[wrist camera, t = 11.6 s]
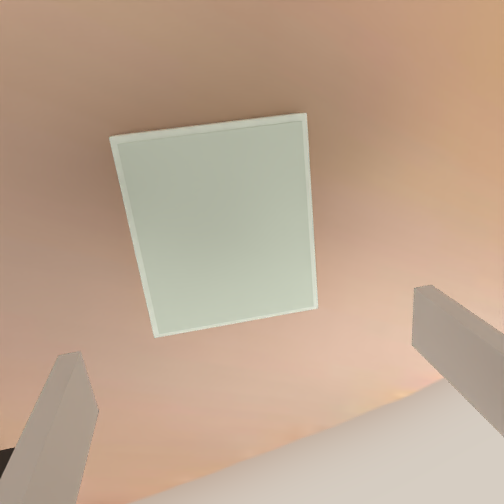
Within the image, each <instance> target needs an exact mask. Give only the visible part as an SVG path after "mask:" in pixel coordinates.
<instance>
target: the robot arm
mask: <svg viewBox="0 0 504 504" xmlns="http://www.w3.org/2000/svg"><path fill="white" fill-rule="evenodd" d="M412 346H413V347H414V348H415V349H416V350H417V351H418V352H419V353H420V354H421V355H422V356H423V357H424V358H425V359H426V360H427V361H428V362H429V363H430V364H431V365H432V366H433V367H434V368H435V369H436V370H437V371H438V372H439V373H440V374H441V375H442V376H443V377H444V378H445V379H446V380H447V381H448V382H449V383H450V384H451V385H452V386H453V387H454V388H455V389H456V390H457V391H458V392H459V393H460V394H461V395H462V396H463V397H464V398H465V399H466V400H467V401H468V402H469V403H470V404H472V406H473V407H475V409H476V410H477V411H478V412H479V413H480V414H481V415H482V416H483V417H484V418H485V419H486V420H487V421H488V422H489V423H490V424H491V425H492V426H493V427H494V428H495V429H496V430H497V431H498V432H499V433H500V434H501V435H502V436H503V437H504V334H503V333H501V332H500V331H498V330H497V329H495V328H494V327H493V326H491V325H490V324H488V323H487V322H485V321H484V320H482V319H481V318H479V317H478V316H476V315H475V314H474V313H472V312H471V311H469V310H468V309H466V308H465V307H463V306H462V305H460V304H459V303H457V302H456V301H455V300H453V299H452V298H450V297H449V296H447V295H446V294H444V293H443V292H441V291H440V290H438V289H437V288H435V287H434V286H433V285H427V286H422V287H416V288H414V302H413V327H412ZM98 413H99V409H98V406H97V403H96V400H95V396H94V393H93V390H92V387H91V383H90V380H89V377H88V374H87V370H86V367H85V364H84V361H83V357H82V354H81V351H78V352H73V353H68V354H63V355H59V356H58V358H57V360H56V362H55V364H54V366H53V368H52V370H51V373H50V375H49V377H48V379H47V381H46V383H45V385H44V387H43V390H42V392H41V394H40V396H39V398H38V400H37V402H36V404H35V406H34V409H33V411H32V413H31V415H30V417H29V419H28V421H27V423H26V426H25V428H24V430H23V432H22V434H21V436H20V438H19V440H18V443H17V445H16V447H14V448H10V449H5V450H1V451H0V504H76V500H77V497H78V493H79V489H80V485H81V481H82V477H83V473H84V469H85V465H86V461H87V457H88V453H89V449H90V445H91V441H92V437H93V433H94V429H95V425H96V421H97V417H98Z"/></svg>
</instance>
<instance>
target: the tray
mask: <svg viewBox="0 0 504 504" xmlns="http://www.w3.org/2000/svg"><path fill="white" fill-rule="evenodd" d="M109 140H110V144H111V149H112V153H113V158H114V162H115V166H116V171H117V175H118V180H119V184H120V188H121V193H122V197H123V202H124V206H125V211H126V215H127V219H128V224H129V228H130V233H131V237H132V242H133V246H134V250H135V255H136V259H137V264H138V268H139V273H140V277H141V281H142V286H143V290H144V295H145V299H146V304H147V308H148V312H149V317H150V321H151V326H152V330H153V335H154V338H158V337H163V336H169V335H174V334H180V333H185V332H191V331H196V330H202V329H207V328H213V327H218V326H224V325H229V324H235V323H240V322H246V321H251V320H257V319H262V318H268V317H273V316H279V315H284V314H290V313H295V312H301V311H306V310H312V309H317V308H318V295H317V279H316V262H315V245H314V228H313V211H312V194H311V177H310V160H309V143H308V126H307V113H292V114H284V115H275V116H267V117H259V118H251V119H243V120H234V121H226V122H218V123H210V124H201V125H193V126H185V127H177V128H169V129H160V130H152V131H144V132H136V133H128V134H119V135H114V136H111V137H109Z"/></svg>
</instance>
